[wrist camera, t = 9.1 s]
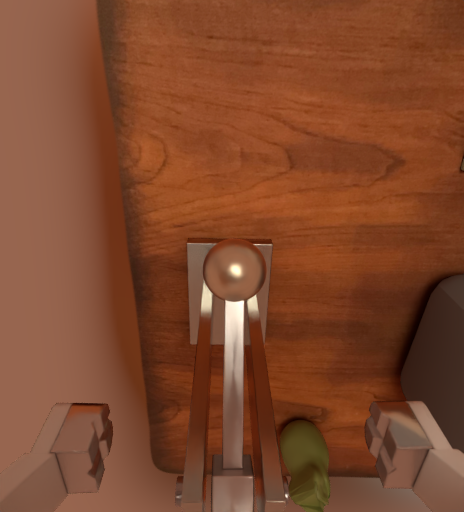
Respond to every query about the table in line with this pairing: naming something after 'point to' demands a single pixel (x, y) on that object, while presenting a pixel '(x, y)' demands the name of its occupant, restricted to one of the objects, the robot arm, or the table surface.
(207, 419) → the bracket
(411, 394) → the alarm clock
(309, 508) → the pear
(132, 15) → the table surface
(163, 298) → the table surface
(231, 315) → the lever
